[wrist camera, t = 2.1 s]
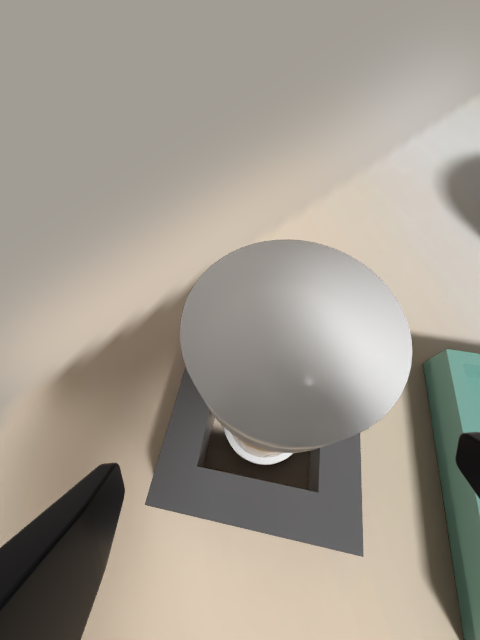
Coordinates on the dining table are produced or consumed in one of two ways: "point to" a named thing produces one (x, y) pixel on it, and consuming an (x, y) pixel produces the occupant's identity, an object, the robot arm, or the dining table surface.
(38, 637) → the robot arm
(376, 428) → the dining table surface
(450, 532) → the parts tray
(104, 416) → the dining table surface
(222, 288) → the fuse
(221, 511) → the frame
